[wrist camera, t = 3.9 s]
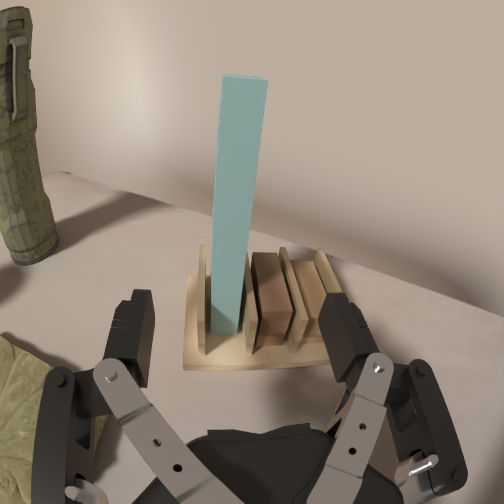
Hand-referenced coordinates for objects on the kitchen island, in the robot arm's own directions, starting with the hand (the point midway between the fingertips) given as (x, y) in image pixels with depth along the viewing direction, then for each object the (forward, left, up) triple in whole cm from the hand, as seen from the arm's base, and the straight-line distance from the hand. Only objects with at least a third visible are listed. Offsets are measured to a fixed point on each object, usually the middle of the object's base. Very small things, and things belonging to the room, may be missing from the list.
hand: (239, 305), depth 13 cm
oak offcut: (-9, -11, -13) cm, 19 cm away
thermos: (+29, -23, -14) cm, 39 cm away
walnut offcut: (-4, -11, -13) cm, 18 cm away
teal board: (0, -11, -13) cm, 17 cm away
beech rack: (-4, -11, -14) cm, 18 cm away
